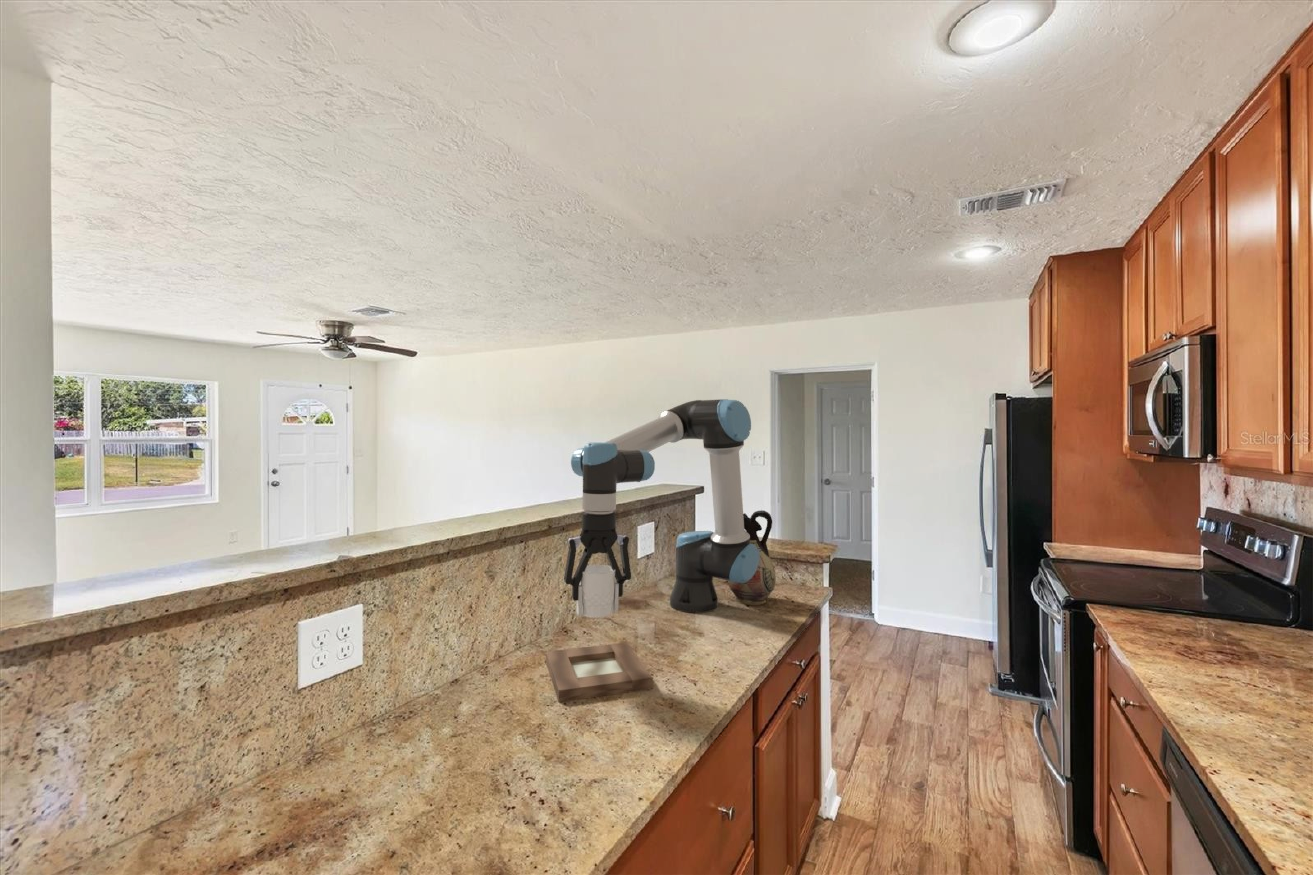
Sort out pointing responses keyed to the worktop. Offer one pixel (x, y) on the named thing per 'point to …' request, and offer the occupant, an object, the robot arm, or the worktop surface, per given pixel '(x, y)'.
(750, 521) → the ceramic jug
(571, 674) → the wooden picture frame
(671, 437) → the robot arm
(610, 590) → the white cup
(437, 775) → the worktop surface
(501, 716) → the worktop surface
